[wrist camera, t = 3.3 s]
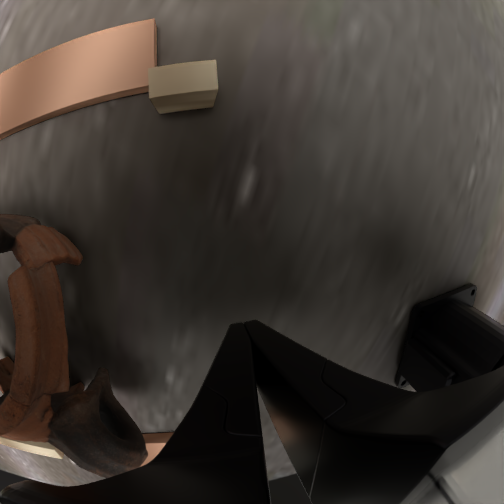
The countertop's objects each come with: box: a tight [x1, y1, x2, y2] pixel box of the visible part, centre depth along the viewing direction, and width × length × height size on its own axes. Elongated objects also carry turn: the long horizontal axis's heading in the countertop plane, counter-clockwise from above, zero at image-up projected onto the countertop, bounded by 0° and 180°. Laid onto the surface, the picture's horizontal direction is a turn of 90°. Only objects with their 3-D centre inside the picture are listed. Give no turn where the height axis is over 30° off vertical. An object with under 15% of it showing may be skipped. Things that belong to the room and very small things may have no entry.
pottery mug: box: [0, 214, 148, 478], centre depth 8 cm, size 12×10×8 cm
